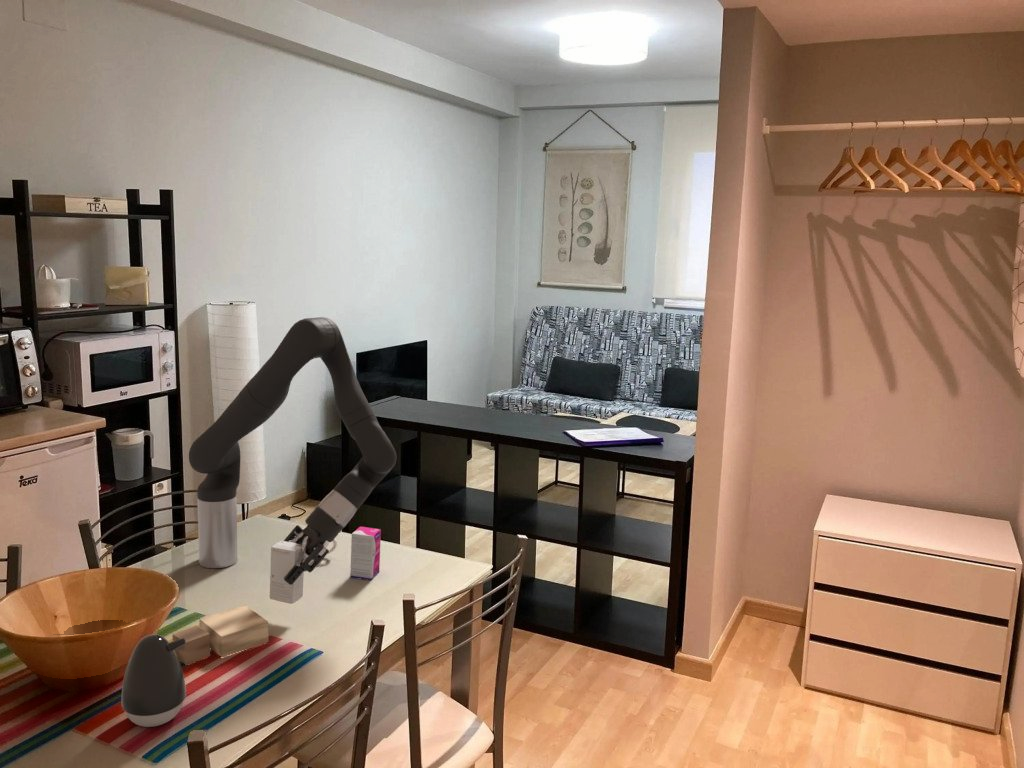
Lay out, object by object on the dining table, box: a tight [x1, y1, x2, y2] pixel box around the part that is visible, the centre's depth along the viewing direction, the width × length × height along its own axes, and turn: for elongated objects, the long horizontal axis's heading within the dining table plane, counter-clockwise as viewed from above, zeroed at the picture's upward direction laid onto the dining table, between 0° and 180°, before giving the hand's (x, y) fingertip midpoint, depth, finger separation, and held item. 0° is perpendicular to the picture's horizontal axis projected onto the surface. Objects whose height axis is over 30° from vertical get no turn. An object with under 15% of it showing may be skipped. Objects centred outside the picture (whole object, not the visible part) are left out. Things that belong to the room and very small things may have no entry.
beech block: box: [198, 604, 270, 658], centre depth 171 cm, size 10×10×5 cm
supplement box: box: [349, 526, 382, 581], centre depth 206 cm, size 6×6×12 cm
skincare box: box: [269, 540, 305, 605], centre depth 180 cm, size 6×4×12 cm
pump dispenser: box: [120, 633, 187, 728], centre depth 142 cm, size 10×10×15 cm
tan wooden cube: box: [171, 625, 211, 665], centre depth 164 cm, size 5×5×5 cm
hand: (280, 575), depth 180 cm, fingers closed on skincare box, 7 cm apart
